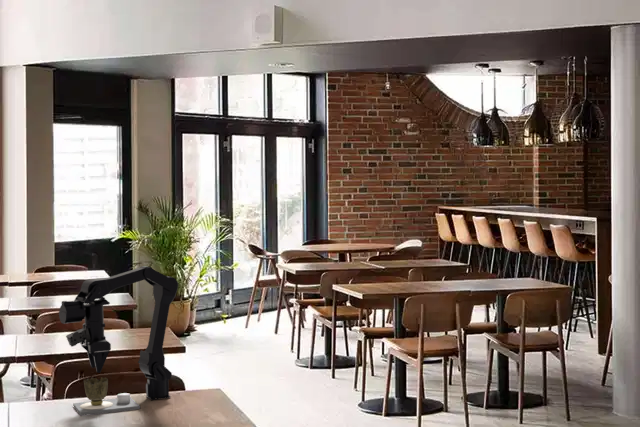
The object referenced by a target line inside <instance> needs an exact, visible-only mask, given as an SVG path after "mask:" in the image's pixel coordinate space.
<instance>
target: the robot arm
mask: <svg viewBox="0 0 640 427" xmlns="http://www.w3.org/2000/svg"><path fill="white" fill-rule="evenodd" d="M141 281H145V282H146V283H148V284H149V285H150V286H152V291H153V292H152V295H153V298H154V309H153V314H152V320H151V326H150V332H149V337H148V343H147V346H146V348H145V350H140V352H139V359H138V361H137V364H139V369H140V370H141V372H142V373H143V375H144V376H145V378H147V382H146V383H145V394H146V397H147V398H148V399H149V400H151V401H154V400H155V401H156V400H162V399H171V395H170V384H169V382H170V381H169V380H171V378H172V375H173V374H172V373H173V372H171V371H170V370H169V369H168V368H167V367H166V365H165V364H166V363H165V362H166V357H165V354H164V350H163V347H164V342H165V336H166V330H167V325H168V324H167V323H168V317H169V312H170V306H171V303H172V302H173V301H174V300H175V297H176V295H177V292H178V289H179V282H178V281H177V279H176V278H175V277H173V276H167V275H166V274H163V273H161V272H159V271H157V270H155V269H154V268H152V267H151V266H148V265H147V266H145V265H142V266H140V267H138V268H135V269H132V270H128V271H125V272H121V273H118V274H115V275H111V276H108V277H100V278H89V279H86V280H84V281H83V282H82V284H81V286H80V291H79V292H78V294H76V296H75V298H74V300H68V301H67V300H63V301H61V305H60V307H59V311H58V317H59V321H60V323H61V324H63V325H65V324H72V323H73V324H74V323H81V322H83V320H84V322H83V324H82V328H79V329H77V330H76V331H73V332H71V333H69V334H67V335H65V338H66V340H67V342H68V345H69V346H70V347H71V348H72V347H75V346H77V345H78V344H80V345H81V347H82V348H83V349H84V350H85V351H86V353H87V357H88V360H89V363H90V367H91V368H92V369H93V368H94V369H95V370H96V373H99V374H100V373H101V372H102V370H103V367H104V365H105V362H106V360H107V358H108V355H109V353H110V352H111V350H112V345H111V344H112V343H110V342H109V341H108V340H107V339H106V338H107V337H106V336H105V327H106V323H105V322H104V306H107V305H108V306H109V305H110V304H111V303H110V301H108V300H107V299H106V298H105V296H108V295H109V294H110V293H111V292H112V291H114V290H116V289H119V288H123V287H125V286H129V285H133V284H134V283H139V282H141Z"/></svg>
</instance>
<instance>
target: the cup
mask: <svg viewBox="0 0 640 427" xmlns="http://www.w3.org/2000/svg"><path fill="white" fill-rule="evenodd" d="M108 384H109V379H108V377H103V376H101V377H100V379H97V377H95V378H94V377H90V378H87V379H86V378H85V379H84V380H83V386H84V391H85V395H86V398H87V399H88V400H89V401H91V405H93V406H98V405H101V404H102V403H103V401H102V400H105V398H106V397H107V394H108V389H109V388H108V387H109V385H108Z"/></svg>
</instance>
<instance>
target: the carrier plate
mask: <svg viewBox="0 0 640 427" xmlns="http://www.w3.org/2000/svg"><path fill="white" fill-rule="evenodd" d="M102 401H103V403H102V404H101V405H98V406H93V405H91V400H89V401H83V402H82V401H81V402H73V403H72V405H73V406H74V407H75V408H74V407H73V406H72V407H73V408H74V409H75V410H77V411H78V412H77V411H76V412H77V413H78V414H79V416H80V415H81V416H80V417H84V416H90V415H91V416H92V415H98V414H99V415H100V413H101V414H109V413H108V412H110V413H116V412H125V411H127V412H128V411H132V410H133V411H134V410H135V411H136V410H140V409H141V406H140V404H139V403H137V402H136V401H135V400H134V399H133V398H132V397H131V393H127V392H123V393H118V394H117V395H116V398H110V399H109V398H107V399H102Z"/></svg>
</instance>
